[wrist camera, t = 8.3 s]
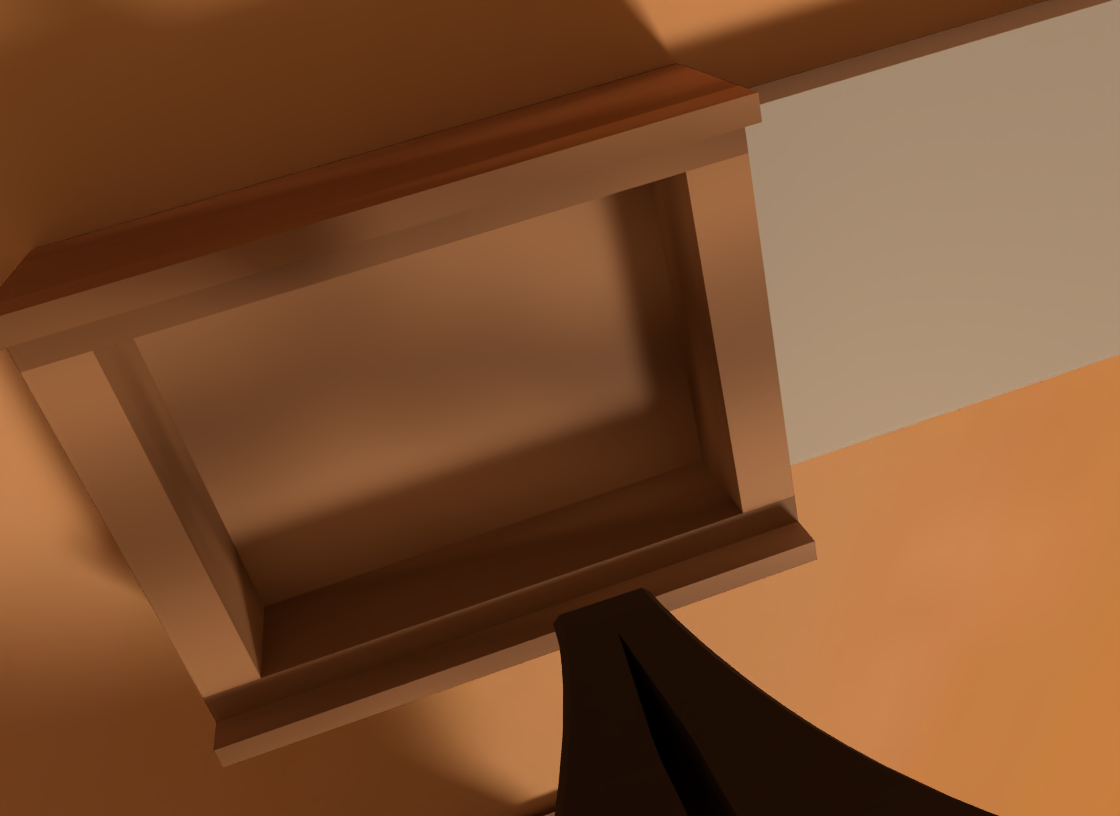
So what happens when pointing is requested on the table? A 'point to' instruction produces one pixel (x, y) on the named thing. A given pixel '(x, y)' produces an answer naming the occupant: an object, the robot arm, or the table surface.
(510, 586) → the walnut box
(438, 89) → the table surface
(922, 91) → the cover plate
